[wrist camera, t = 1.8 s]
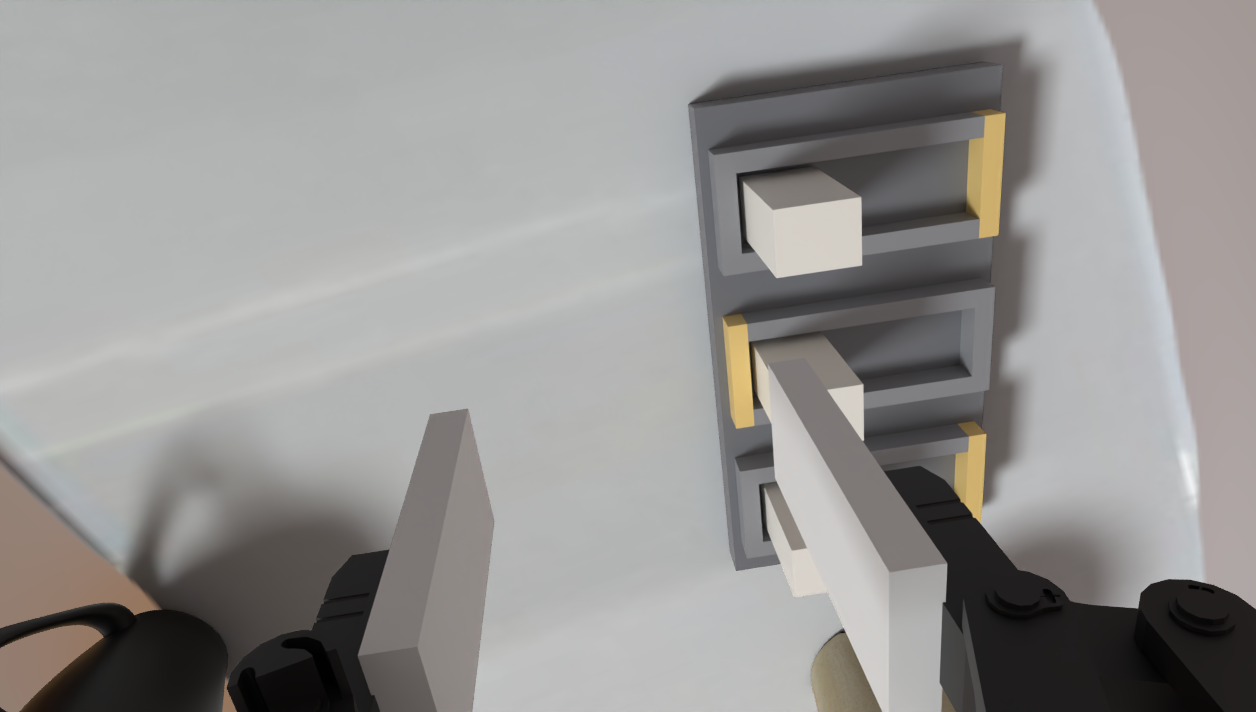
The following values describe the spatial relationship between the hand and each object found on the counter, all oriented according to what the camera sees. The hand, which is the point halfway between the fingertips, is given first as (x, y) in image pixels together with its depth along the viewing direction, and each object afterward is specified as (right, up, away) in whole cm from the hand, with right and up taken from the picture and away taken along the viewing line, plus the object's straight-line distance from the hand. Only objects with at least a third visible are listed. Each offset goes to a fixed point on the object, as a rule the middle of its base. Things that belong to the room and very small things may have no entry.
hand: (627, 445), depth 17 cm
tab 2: (+7, +2, +19) cm, 20 cm away
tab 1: (+6, +8, +16) cm, 19 cm away
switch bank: (+10, +3, +20) cm, 23 cm away
